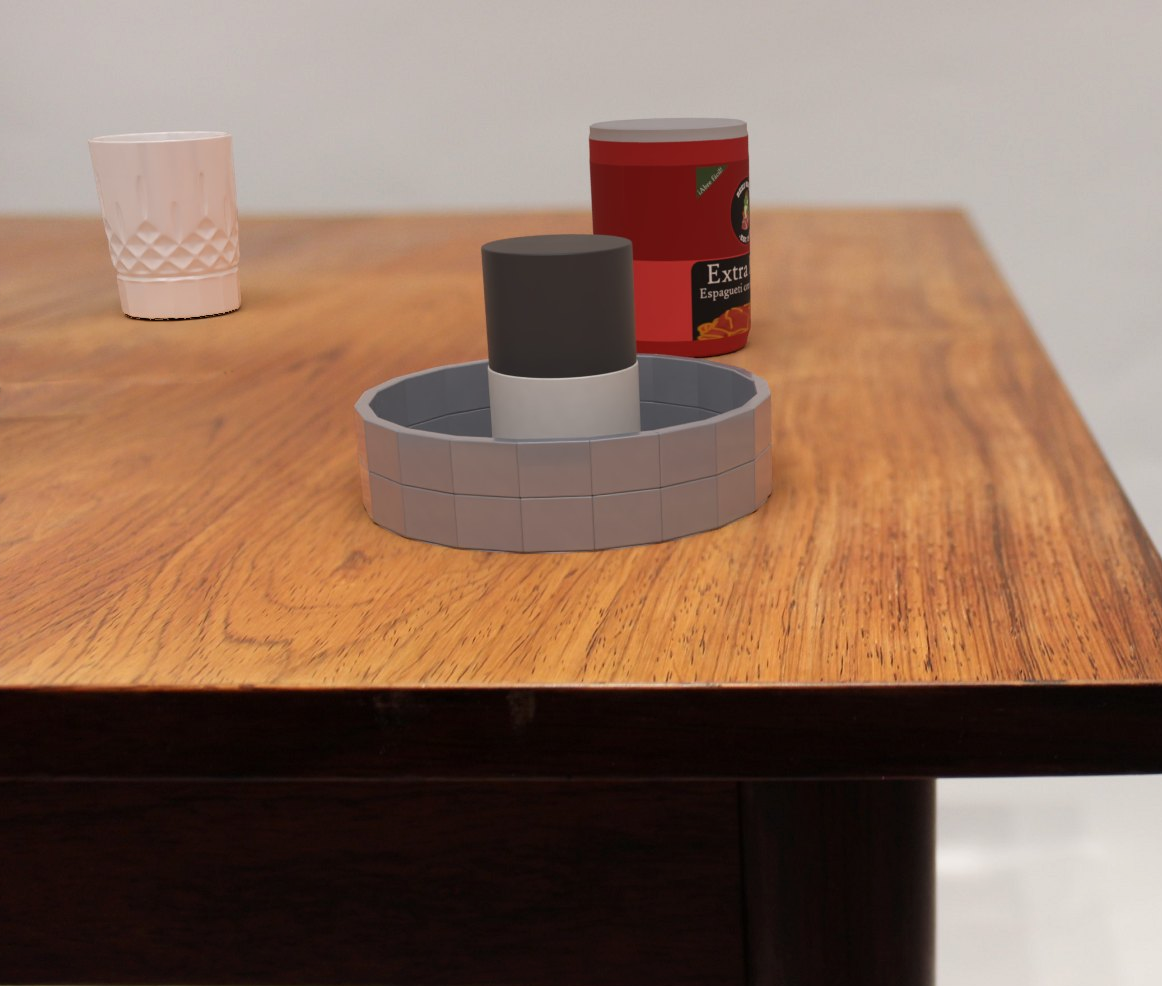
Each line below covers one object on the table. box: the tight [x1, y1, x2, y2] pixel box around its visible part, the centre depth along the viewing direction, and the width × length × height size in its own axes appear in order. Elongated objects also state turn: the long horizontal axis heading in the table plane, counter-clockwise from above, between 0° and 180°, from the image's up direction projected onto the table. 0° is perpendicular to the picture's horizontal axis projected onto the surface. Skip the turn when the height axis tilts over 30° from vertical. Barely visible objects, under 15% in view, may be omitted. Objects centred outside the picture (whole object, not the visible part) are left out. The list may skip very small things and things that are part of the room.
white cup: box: [87, 130, 242, 318], centre depth 98 cm, size 8×8×10 cm
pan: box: [353, 353, 773, 555], centre depth 58 cm, size 14×14×4 cm
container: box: [480, 233, 641, 439], centre depth 57 cm, size 5×5×8 cm
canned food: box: [588, 117, 752, 358], centre depth 84 cm, size 8×8×11 cm
